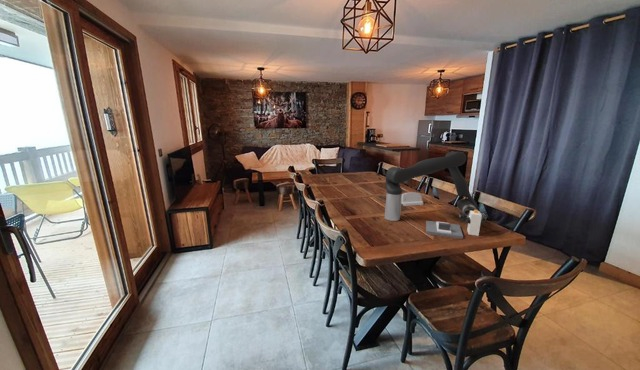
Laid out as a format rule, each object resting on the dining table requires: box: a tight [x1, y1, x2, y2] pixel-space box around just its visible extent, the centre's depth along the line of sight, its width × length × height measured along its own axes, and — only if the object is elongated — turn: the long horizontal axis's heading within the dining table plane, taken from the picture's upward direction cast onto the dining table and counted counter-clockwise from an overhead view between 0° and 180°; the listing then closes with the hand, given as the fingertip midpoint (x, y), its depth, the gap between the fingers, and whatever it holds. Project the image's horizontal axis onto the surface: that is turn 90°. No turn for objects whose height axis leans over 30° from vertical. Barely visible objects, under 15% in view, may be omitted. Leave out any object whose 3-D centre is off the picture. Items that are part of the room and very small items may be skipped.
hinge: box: [401, 191, 424, 207], centre depth 188 cm, size 17×5×10 cm, turn 99°
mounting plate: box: [425, 220, 464, 240], centre depth 142 cm, size 18×16×2 cm
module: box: [466, 209, 483, 237], centre depth 137 cm, size 5×6×14 cm
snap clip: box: [438, 221, 451, 230], centre depth 139 cm, size 6×2×3 cm, turn 68°
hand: (475, 222), depth 135 cm, fingers closed on module, 4 cm apart
